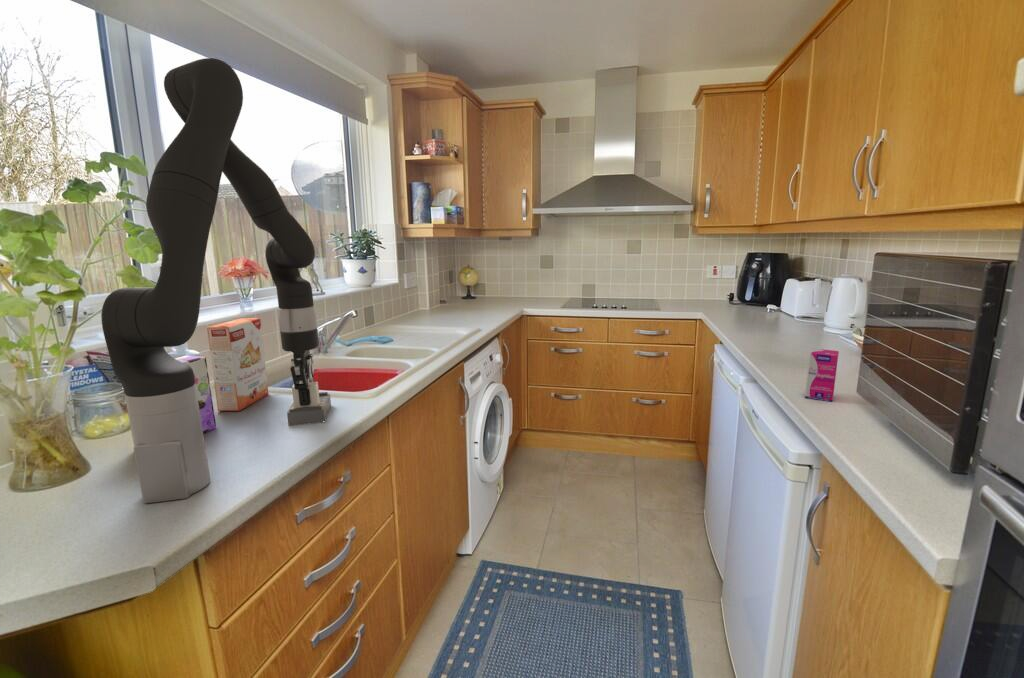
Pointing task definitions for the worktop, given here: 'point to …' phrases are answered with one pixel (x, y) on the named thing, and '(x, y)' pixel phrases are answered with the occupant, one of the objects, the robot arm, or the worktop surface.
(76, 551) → the worktop surface
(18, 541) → the worktop surface
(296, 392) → the fader tab
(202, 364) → the candy box
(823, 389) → the supplement box
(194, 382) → the robot arm
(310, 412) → the fader console
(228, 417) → the worktop surface
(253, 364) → the cracker box
